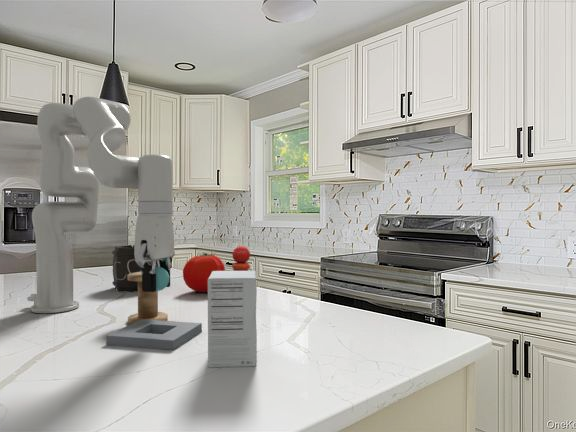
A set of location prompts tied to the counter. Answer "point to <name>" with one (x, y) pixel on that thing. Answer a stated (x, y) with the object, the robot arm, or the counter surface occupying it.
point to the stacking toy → (241, 259)
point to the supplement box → (232, 319)
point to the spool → (145, 303)
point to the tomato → (201, 271)
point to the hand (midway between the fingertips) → (156, 288)
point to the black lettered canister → (125, 268)
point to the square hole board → (142, 336)
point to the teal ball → (161, 278)
